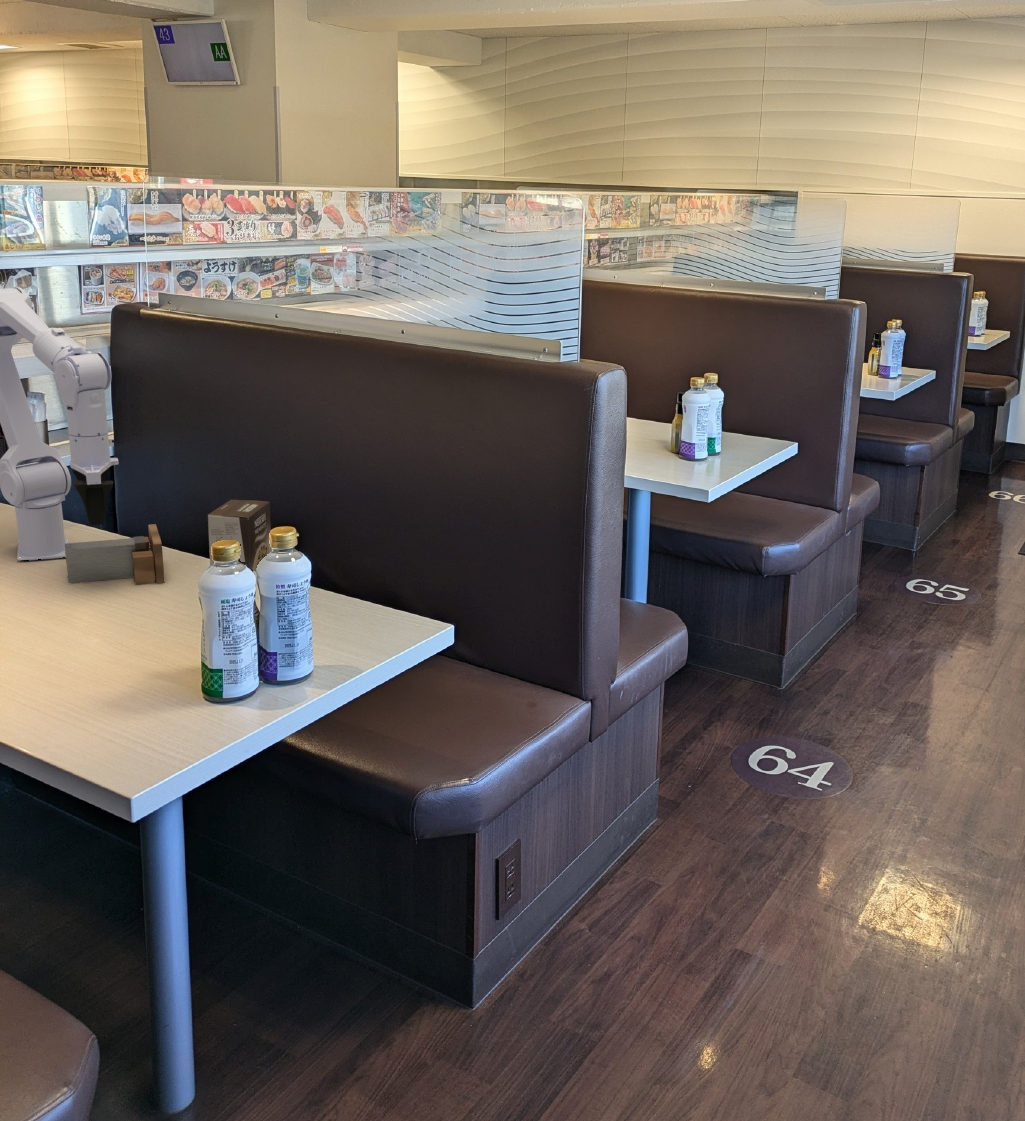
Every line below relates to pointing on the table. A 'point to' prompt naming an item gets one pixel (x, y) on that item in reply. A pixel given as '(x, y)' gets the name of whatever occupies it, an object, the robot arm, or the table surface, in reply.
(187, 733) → the table surface
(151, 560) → the post block
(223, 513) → the coffee box
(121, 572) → the rail
